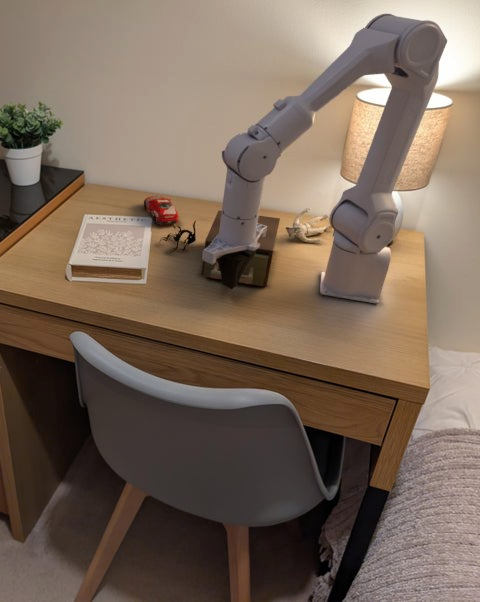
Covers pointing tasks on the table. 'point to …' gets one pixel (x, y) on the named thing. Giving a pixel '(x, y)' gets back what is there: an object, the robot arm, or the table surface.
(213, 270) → the drawer
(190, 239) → the creature
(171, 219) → the race car
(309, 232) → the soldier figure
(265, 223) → the cabinet
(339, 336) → the table surface
